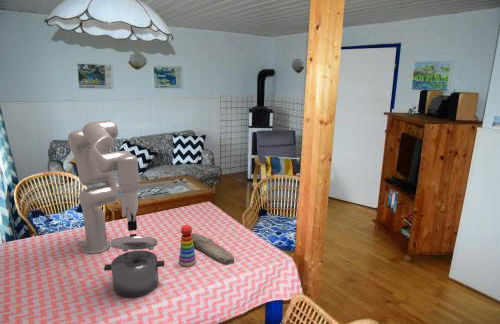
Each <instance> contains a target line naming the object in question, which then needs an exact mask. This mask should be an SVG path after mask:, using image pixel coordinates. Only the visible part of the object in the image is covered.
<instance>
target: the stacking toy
mask: <svg viewBox="0 0 500 324" xmlns="http://www.w3.org/2000/svg"><path fill="white" fill-rule="evenodd" d="M180 232H181V234H182V235H181V236H180V249H179V251H180V252H179V255H178V256H179V257H178V263H179V265H180V266H183V267H191V266H193V265H195V264H196V262H197V259H196V251H195V248H194V246H193V245H194V244H193V240H192V235H191V233H192V232H193V228H192V226H191V225H190V224H185V225H183V226H181V228H180Z"/></svg>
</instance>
